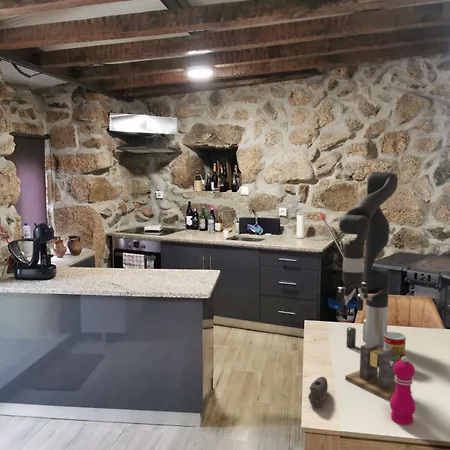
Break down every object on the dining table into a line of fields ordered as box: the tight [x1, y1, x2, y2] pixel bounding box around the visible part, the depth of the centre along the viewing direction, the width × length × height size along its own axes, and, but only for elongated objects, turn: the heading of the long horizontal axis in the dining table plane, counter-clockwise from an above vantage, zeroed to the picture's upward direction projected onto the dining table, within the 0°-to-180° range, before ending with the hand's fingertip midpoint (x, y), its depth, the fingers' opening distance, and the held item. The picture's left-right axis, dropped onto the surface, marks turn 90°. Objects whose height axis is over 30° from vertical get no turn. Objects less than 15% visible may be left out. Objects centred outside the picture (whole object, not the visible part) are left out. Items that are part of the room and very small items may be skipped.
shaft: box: [345, 326, 394, 367], centre depth 163 cm, size 20×3×8 cm, turn 33°
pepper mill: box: [389, 355, 416, 426], centre depth 137 cm, size 7×7×20 cm
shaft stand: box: [344, 343, 398, 401], centre depth 160 cm, size 18×12×13 cm, turn 33°
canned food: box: [383, 331, 407, 362], centre depth 176 cm, size 8×8×12 cm
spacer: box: [370, 348, 385, 369], centre depth 159 cm, size 3×5×5 cm, turn 123°
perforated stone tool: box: [307, 376, 329, 408], centre depth 151 cm, size 15×5×7 cm, turn 154°
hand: (352, 312), depth 168 cm, fingers open, 8 cm apart
